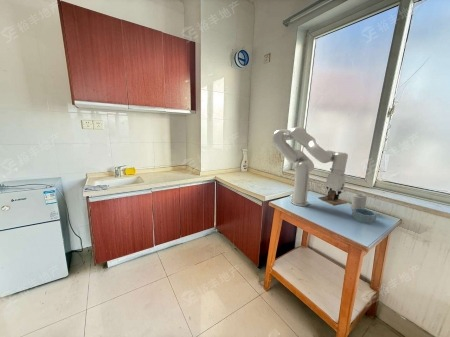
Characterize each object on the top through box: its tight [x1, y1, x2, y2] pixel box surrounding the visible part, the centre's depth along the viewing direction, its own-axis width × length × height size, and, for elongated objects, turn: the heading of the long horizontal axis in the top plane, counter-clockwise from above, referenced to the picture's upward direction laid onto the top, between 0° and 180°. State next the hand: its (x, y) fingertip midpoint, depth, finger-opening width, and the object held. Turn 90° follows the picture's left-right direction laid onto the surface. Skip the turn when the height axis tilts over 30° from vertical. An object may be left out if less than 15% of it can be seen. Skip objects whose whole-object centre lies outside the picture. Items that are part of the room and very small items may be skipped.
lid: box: [318, 189, 348, 207], centre depth 125 cm, size 12×12×7 cm
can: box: [351, 192, 368, 211], centre depth 128 cm, size 8×8×12 cm
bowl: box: [351, 208, 378, 225], centre depth 116 cm, size 11×11×5 cm
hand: (332, 197), depth 125 cm, fingers closed on lid, 4 cm apart
